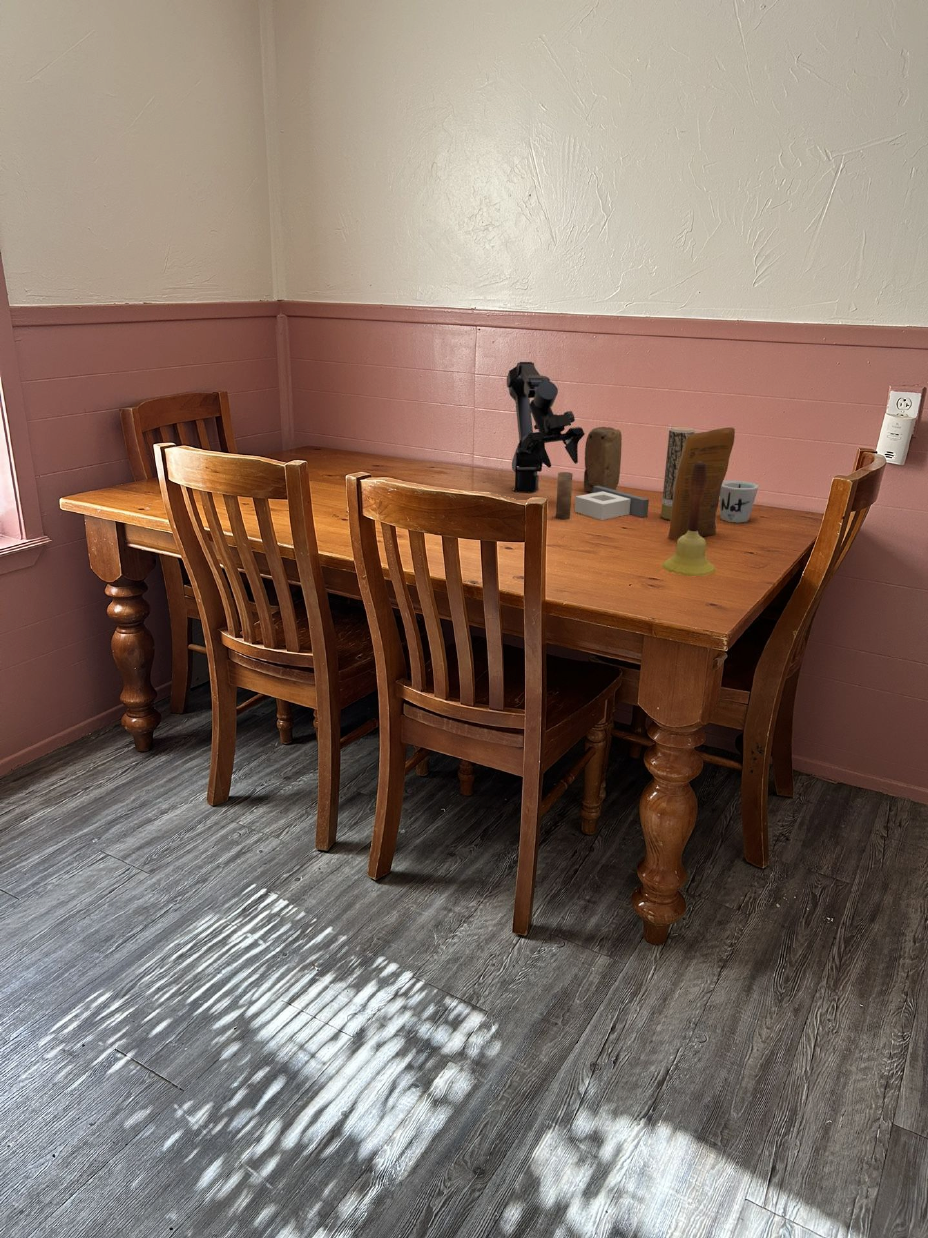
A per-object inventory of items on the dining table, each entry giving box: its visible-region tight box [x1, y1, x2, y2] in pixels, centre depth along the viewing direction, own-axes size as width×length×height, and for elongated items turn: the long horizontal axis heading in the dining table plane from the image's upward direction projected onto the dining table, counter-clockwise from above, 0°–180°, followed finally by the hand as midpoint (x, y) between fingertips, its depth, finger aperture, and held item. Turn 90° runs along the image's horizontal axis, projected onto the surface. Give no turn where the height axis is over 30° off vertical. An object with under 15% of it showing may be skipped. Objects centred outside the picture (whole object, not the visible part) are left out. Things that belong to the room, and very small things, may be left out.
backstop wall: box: [593, 486, 650, 518], centre depth 255 cm, size 20×2×5 cm, turn 37°
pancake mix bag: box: [667, 427, 736, 540], centre depth 227 cm, size 7×19×28 cm, turn 118°
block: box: [583, 426, 623, 494], centre depth 271 cm, size 11×8×20 cm
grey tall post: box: [660, 426, 696, 521], centre depth 243 cm, size 7×7×25 cm
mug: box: [719, 480, 759, 524], centre depth 248 cm, size 10×15×10 cm
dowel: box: [555, 471, 574, 521], centre depth 244 cm, size 4×4×12 cm
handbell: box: [661, 462, 716, 577], centre depth 202 cm, size 12×12×25 cm
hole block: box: [574, 491, 631, 521], centre depth 251 cm, size 11×11×4 cm
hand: (563, 464), depth 248 cm, fingers open, 9 cm apart
